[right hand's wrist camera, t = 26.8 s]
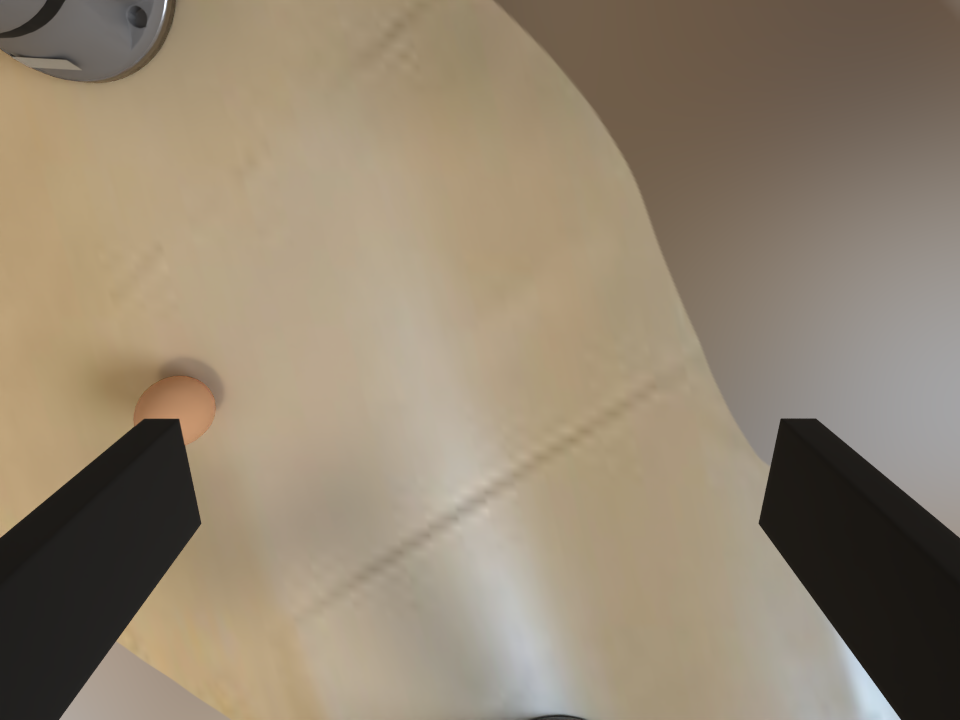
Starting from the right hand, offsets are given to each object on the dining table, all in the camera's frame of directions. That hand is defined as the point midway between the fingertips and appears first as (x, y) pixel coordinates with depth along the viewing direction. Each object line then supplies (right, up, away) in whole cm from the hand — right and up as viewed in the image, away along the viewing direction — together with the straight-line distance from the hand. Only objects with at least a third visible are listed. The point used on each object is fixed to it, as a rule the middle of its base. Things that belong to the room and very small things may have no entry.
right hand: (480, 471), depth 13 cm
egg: (-27, -1, +41) cm, 49 cm away
